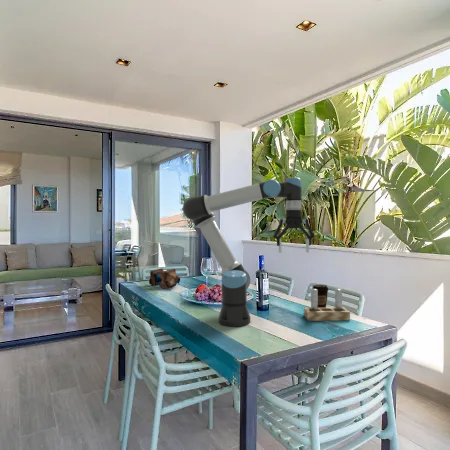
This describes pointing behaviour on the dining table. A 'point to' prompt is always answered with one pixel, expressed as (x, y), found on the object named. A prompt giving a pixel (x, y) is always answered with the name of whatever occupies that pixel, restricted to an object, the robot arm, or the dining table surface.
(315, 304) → the peg
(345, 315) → the hole block
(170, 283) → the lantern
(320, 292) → the coffee cup
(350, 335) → the dining table surface
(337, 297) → the peg right
